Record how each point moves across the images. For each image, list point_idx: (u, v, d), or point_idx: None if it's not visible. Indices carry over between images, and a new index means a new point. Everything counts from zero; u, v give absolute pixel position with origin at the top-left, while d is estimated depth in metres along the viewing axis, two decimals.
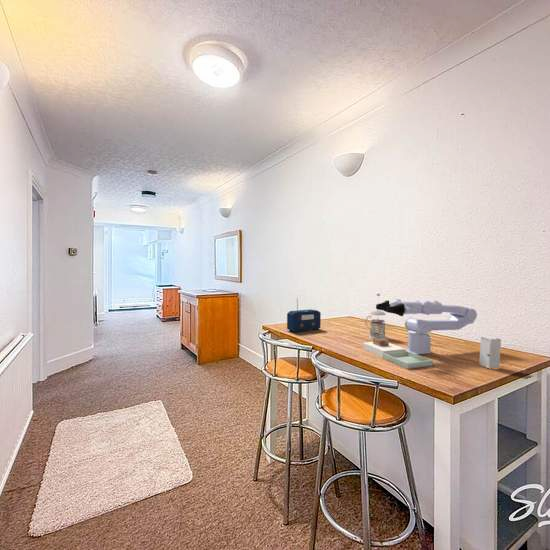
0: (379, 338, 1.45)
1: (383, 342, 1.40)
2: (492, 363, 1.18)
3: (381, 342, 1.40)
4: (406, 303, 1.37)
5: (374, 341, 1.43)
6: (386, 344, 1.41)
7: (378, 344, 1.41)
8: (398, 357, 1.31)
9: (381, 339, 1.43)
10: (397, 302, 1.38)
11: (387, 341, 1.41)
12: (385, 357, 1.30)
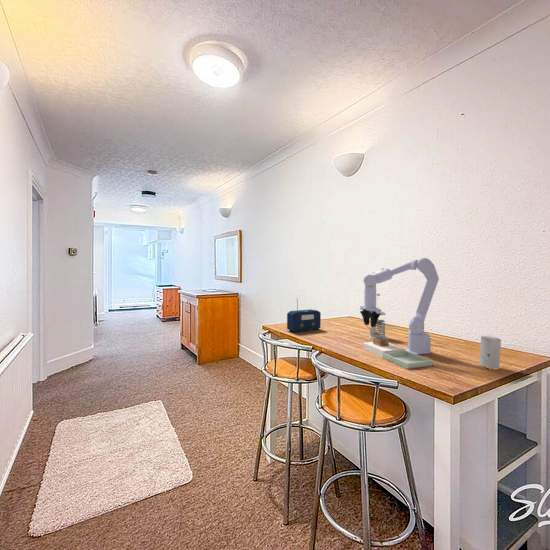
0: (379, 338, 1.45)
1: (383, 342, 1.40)
2: (492, 363, 1.18)
3: (381, 342, 1.40)
4: (368, 302, 1.48)
5: (374, 341, 1.43)
6: (386, 344, 1.41)
7: (378, 344, 1.41)
8: (398, 357, 1.31)
9: (381, 339, 1.43)
10: (365, 309, 1.50)
11: (387, 341, 1.41)
12: (385, 357, 1.30)
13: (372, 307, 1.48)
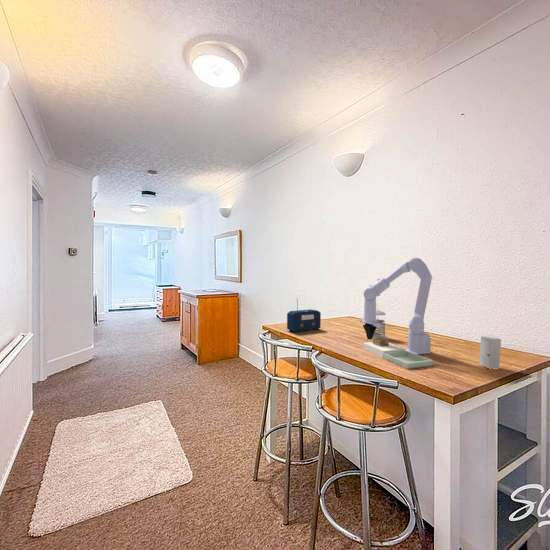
0: (379, 338, 1.45)
1: (383, 342, 1.40)
2: (492, 363, 1.18)
3: (381, 342, 1.40)
4: (368, 316, 1.48)
5: (374, 341, 1.43)
6: (386, 344, 1.41)
7: (378, 344, 1.41)
8: (398, 357, 1.31)
9: (381, 339, 1.43)
10: (365, 322, 1.50)
11: (387, 341, 1.41)
12: (385, 357, 1.30)
13: (372, 321, 1.48)
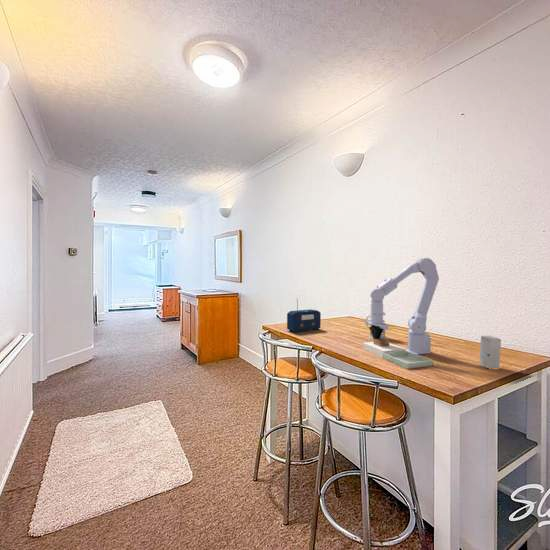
0: (380, 338, 1.44)
1: (384, 342, 1.40)
2: (492, 363, 1.18)
3: (382, 342, 1.40)
4: (374, 317, 1.43)
5: (375, 341, 1.43)
6: (387, 344, 1.40)
7: (379, 344, 1.40)
8: (398, 357, 1.31)
9: (382, 339, 1.42)
10: (372, 324, 1.45)
11: (388, 341, 1.41)
12: (385, 357, 1.30)
13: (379, 323, 1.43)
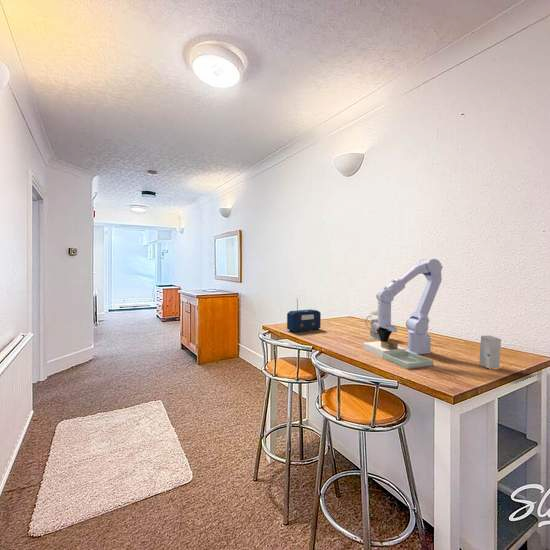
0: (387, 341, 1.39)
1: (392, 345, 1.35)
2: (492, 363, 1.18)
3: (390, 345, 1.34)
4: (382, 319, 1.38)
5: (382, 344, 1.38)
6: (395, 347, 1.35)
7: (386, 347, 1.35)
8: (398, 357, 1.31)
9: (389, 342, 1.37)
10: (379, 326, 1.40)
11: (396, 344, 1.35)
12: (385, 357, 1.30)
13: (387, 325, 1.37)
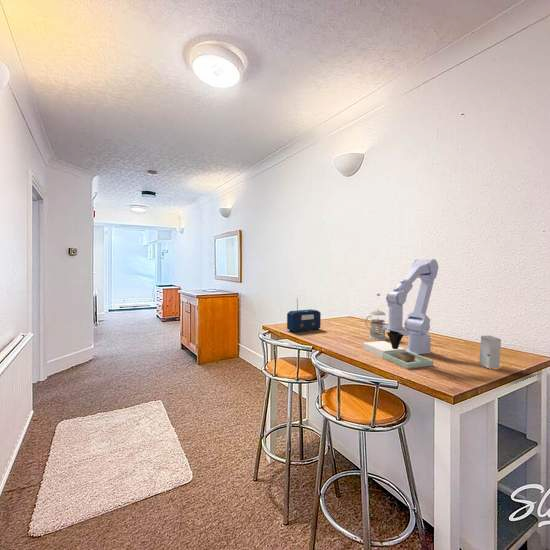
0: (409, 361, 1.26)
1: None
2: (492, 363, 1.18)
3: None
4: (393, 322, 1.31)
5: (403, 359, 1.25)
6: None
7: (398, 355, 1.28)
8: None
9: None
10: (390, 330, 1.33)
11: None
12: (385, 357, 1.30)
13: (398, 328, 1.30)
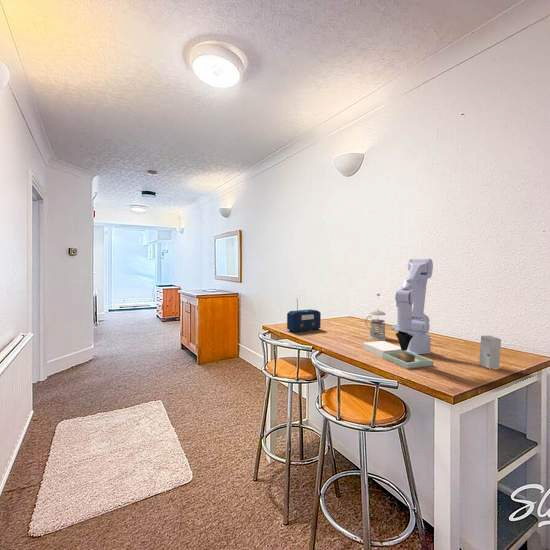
0: (409, 361, 1.26)
1: None
2: (492, 363, 1.18)
3: None
4: (402, 323, 1.26)
5: (403, 359, 1.25)
6: None
7: (398, 355, 1.28)
8: None
9: None
10: (399, 330, 1.27)
11: None
12: (385, 357, 1.30)
13: (407, 329, 1.25)
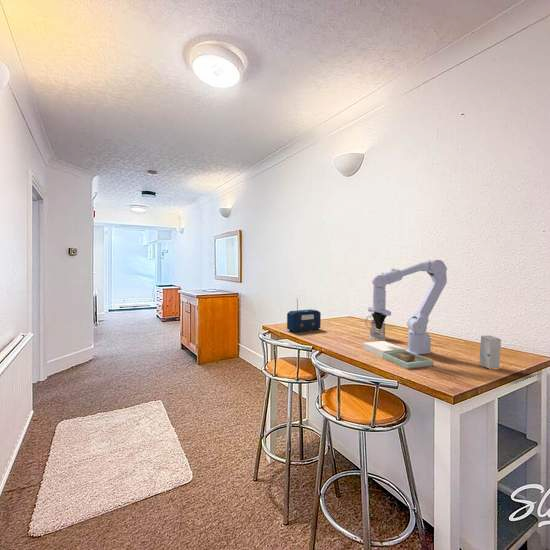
0: (409, 361, 1.26)
1: None
2: (492, 363, 1.18)
3: None
4: (377, 304, 1.42)
5: (403, 359, 1.25)
6: None
7: (398, 355, 1.28)
8: None
9: None
10: (374, 311, 1.43)
11: None
12: (385, 357, 1.30)
13: (381, 309, 1.41)
